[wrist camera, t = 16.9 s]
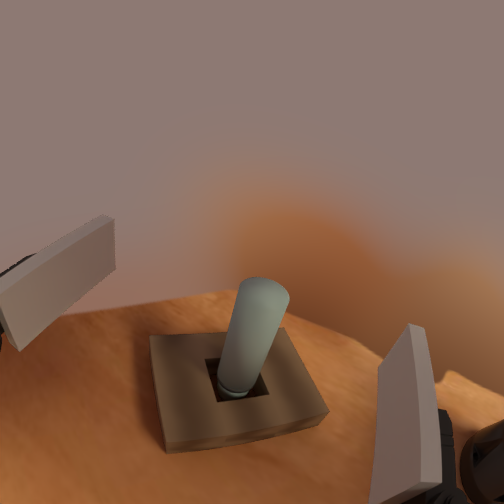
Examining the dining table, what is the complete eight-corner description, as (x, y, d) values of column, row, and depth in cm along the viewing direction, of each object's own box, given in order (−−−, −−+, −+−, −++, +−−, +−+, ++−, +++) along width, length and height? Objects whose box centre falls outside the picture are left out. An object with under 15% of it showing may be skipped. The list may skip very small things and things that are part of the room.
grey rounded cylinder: (242, 376, 36) (277, 276, 29) (253, 405, 33) (297, 308, 25) (208, 380, 35) (233, 277, 27) (217, 410, 31) (248, 311, 23)
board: (276, 344, 43) (283, 327, 41) (317, 425, 32) (329, 411, 30) (149, 353, 36) (149, 335, 34) (166, 453, 25) (166, 442, 23)
